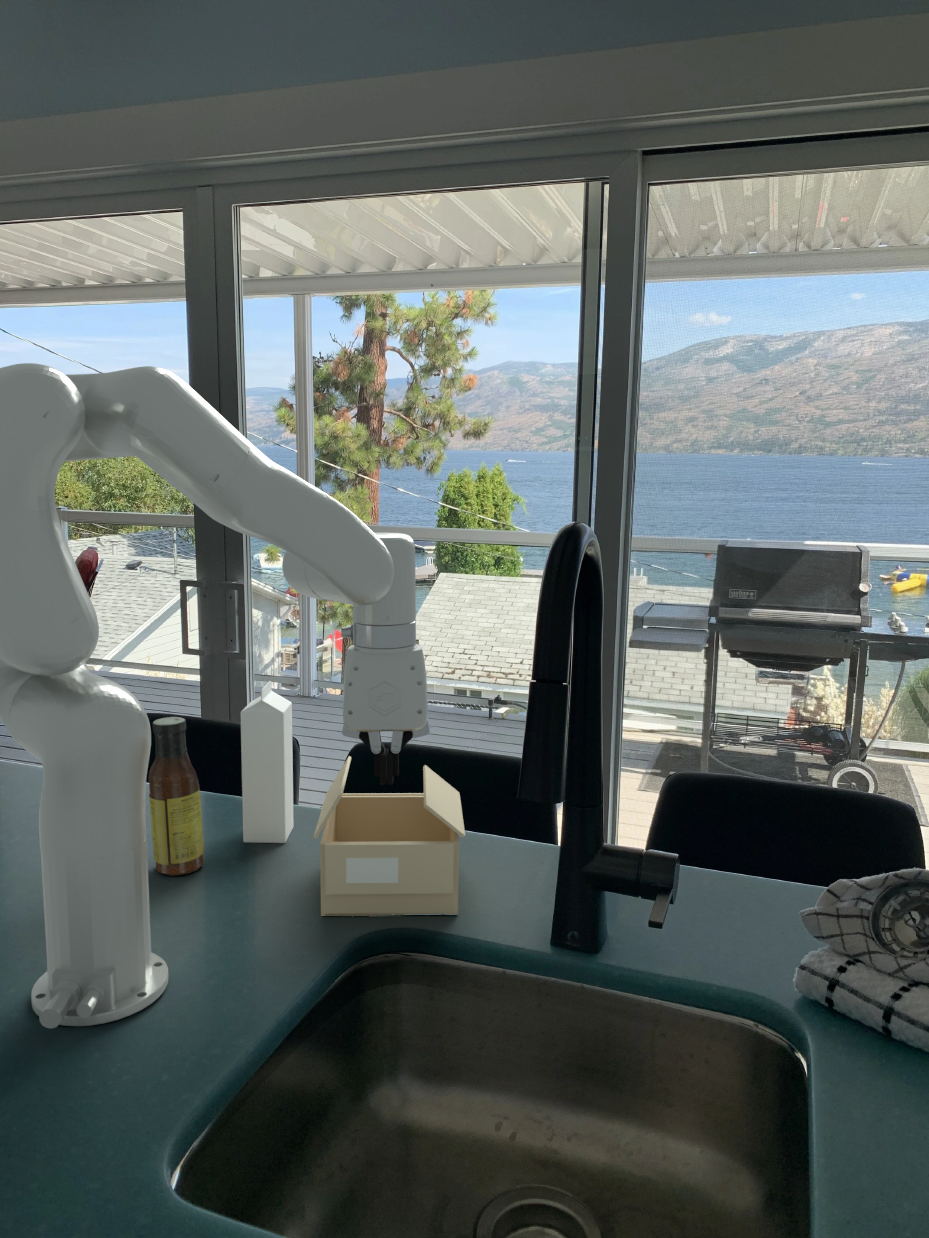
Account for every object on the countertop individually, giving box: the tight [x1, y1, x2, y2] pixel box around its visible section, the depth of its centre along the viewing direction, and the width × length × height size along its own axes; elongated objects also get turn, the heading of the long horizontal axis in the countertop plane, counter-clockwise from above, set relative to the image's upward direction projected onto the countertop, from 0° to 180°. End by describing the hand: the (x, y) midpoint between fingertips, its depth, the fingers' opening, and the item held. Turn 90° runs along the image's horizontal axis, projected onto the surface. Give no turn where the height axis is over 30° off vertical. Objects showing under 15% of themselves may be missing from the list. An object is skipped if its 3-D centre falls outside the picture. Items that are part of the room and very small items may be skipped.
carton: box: [319, 792, 460, 918], centre depth 113 cm, size 17×16×9 cm
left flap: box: [313, 755, 352, 840], centre depth 112 cm, size 15×6×1 cm
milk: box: [240, 680, 295, 844], centre depth 128 cm, size 6×6×22 cm
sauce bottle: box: [148, 716, 205, 877], centre depth 117 cm, size 7×6×20 cm
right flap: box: [422, 764, 466, 839], centre depth 113 cm, size 15×6×1 cm
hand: (386, 781), depth 112 cm, fingers closed
